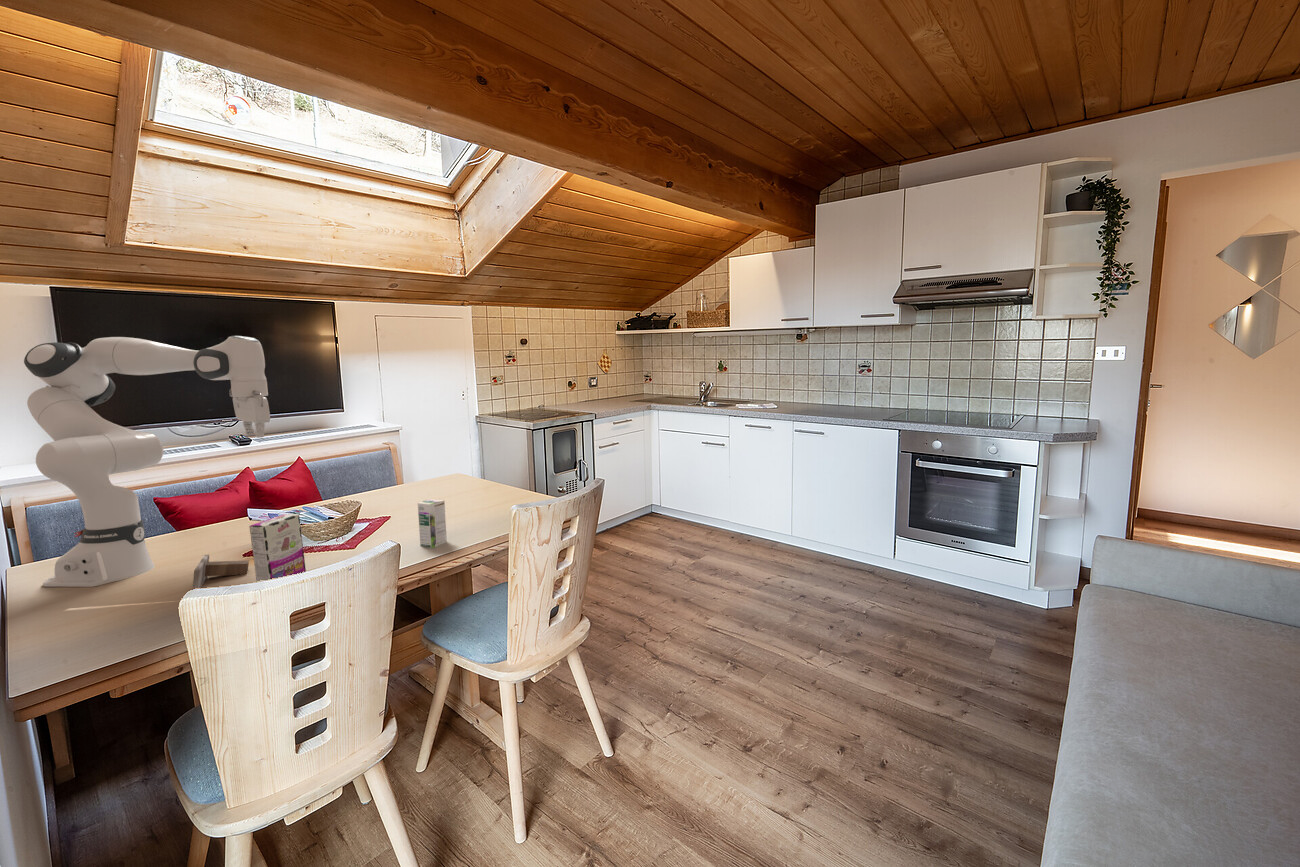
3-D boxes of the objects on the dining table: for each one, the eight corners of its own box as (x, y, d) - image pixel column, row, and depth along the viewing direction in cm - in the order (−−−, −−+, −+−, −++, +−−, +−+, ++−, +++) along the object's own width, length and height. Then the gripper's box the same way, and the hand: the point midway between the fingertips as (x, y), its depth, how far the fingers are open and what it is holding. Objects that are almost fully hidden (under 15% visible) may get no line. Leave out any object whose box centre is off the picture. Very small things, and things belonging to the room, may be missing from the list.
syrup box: (419, 549, 170) (416, 502, 169) (433, 543, 176) (430, 498, 174) (434, 551, 168) (431, 504, 167) (448, 545, 174) (445, 499, 172)
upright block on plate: (204, 554, 151) (249, 553, 156) (203, 576, 151) (248, 574, 156) (194, 570, 139) (243, 568, 144) (192, 594, 139) (241, 591, 144)
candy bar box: (291, 571, 154) (285, 513, 152) (306, 572, 153) (300, 513, 151) (255, 587, 143) (248, 524, 141) (271, 588, 142) (264, 525, 140)
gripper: (273, 390, 164) (278, 437, 165) (251, 389, 177) (256, 433, 178) (248, 391, 159) (253, 440, 160) (227, 390, 172) (232, 435, 174)
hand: (254, 436), depth 170 cm, fingers open, 8 cm apart
